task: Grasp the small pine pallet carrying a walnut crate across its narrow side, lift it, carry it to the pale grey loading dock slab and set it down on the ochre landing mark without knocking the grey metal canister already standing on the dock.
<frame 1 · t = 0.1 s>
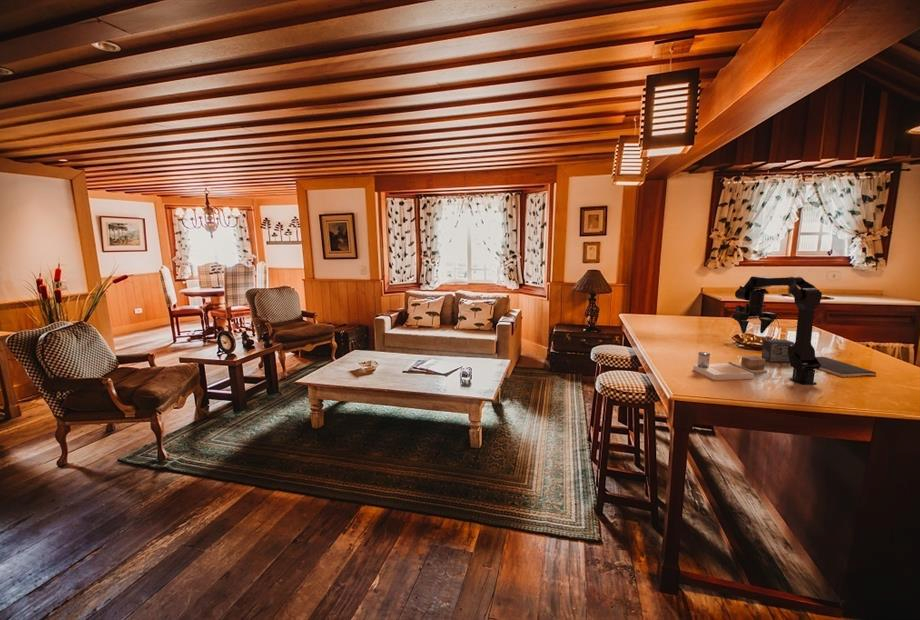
hand: (752, 333, 189), 15 cm above the table, fingers open, 9 cm apart
small box: (775, 361, 192), on the table
dock: (722, 374, 175), on the table
canister: (703, 366, 178), point 2 cm above the table, touching dock
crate: (752, 370, 179), on the table
hardcover book: (832, 369, 181), on the table
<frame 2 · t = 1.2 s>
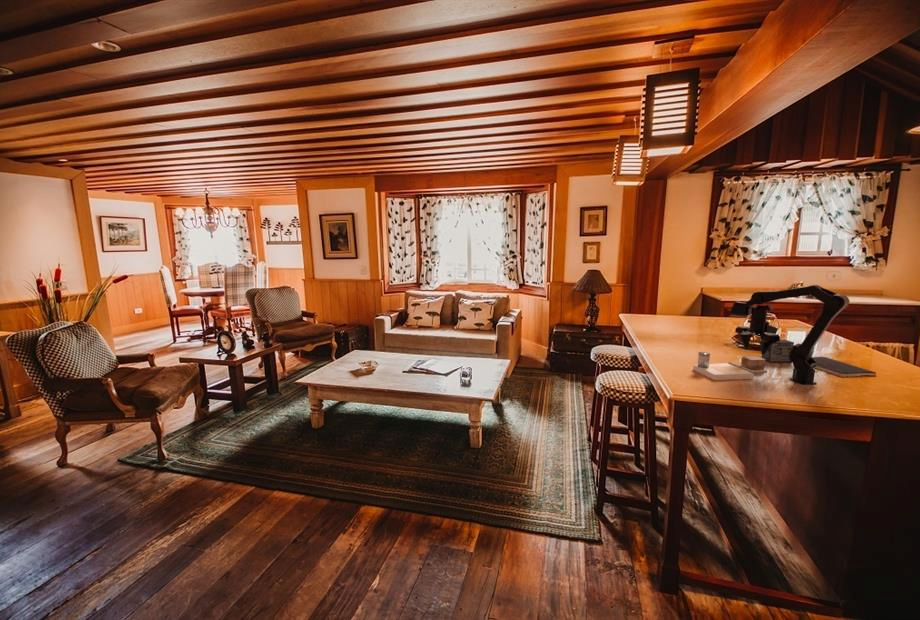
hand: (754, 351, 177), 9 cm above the table, fingers open, 9 cm apart
nothing on the table moved.
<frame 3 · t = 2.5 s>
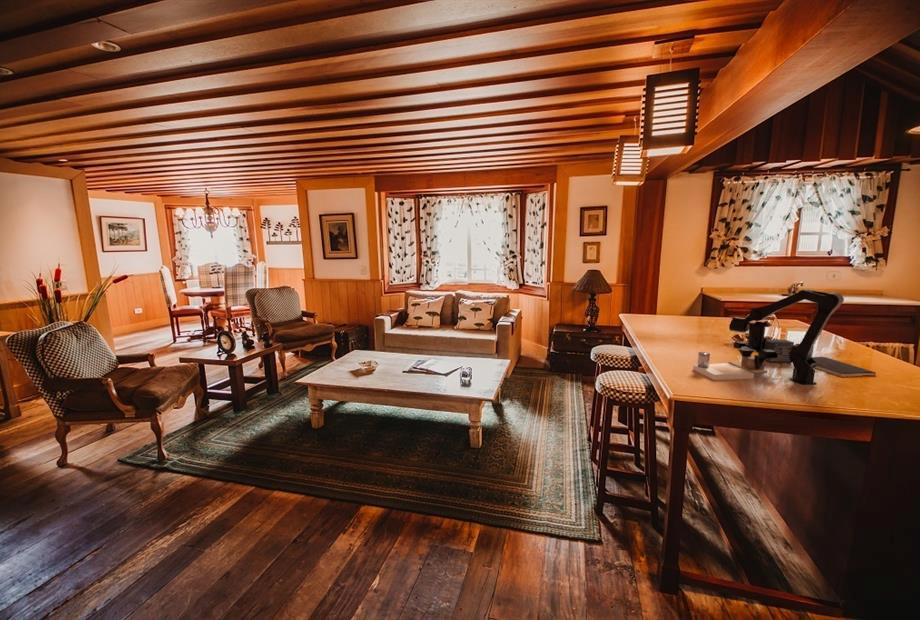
hand: (752, 367, 179), 2 cm above the table, fingers closed on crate, 5 cm apart
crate: (752, 370, 179), on the table, touching gripper
everything else where it was.
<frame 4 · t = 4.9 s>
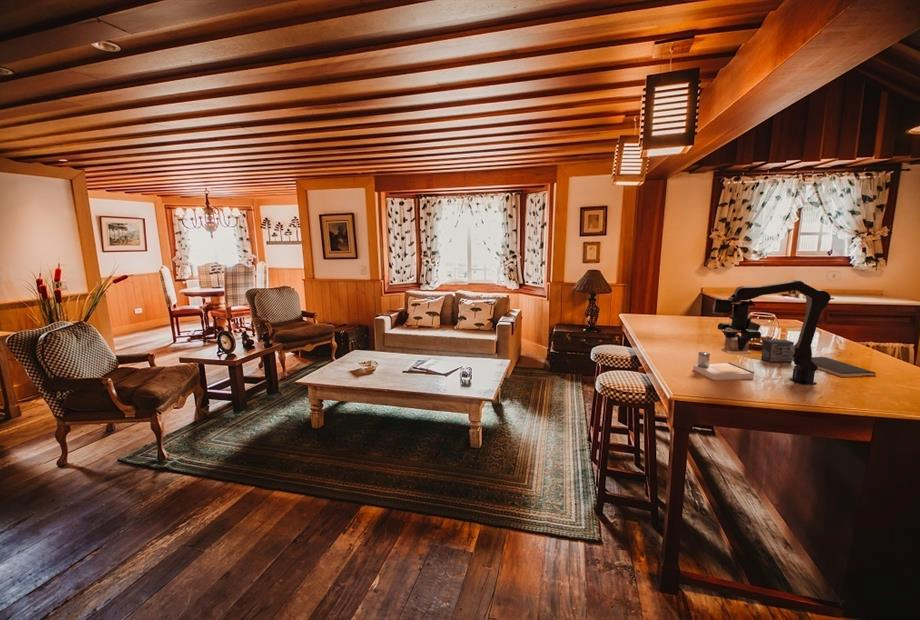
hand: (736, 348, 173), 12 cm above the table, fingers closed on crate, 5 cm apart
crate: (735, 352, 173), point 10 cm above the table, touching gripper
everything else where it was.
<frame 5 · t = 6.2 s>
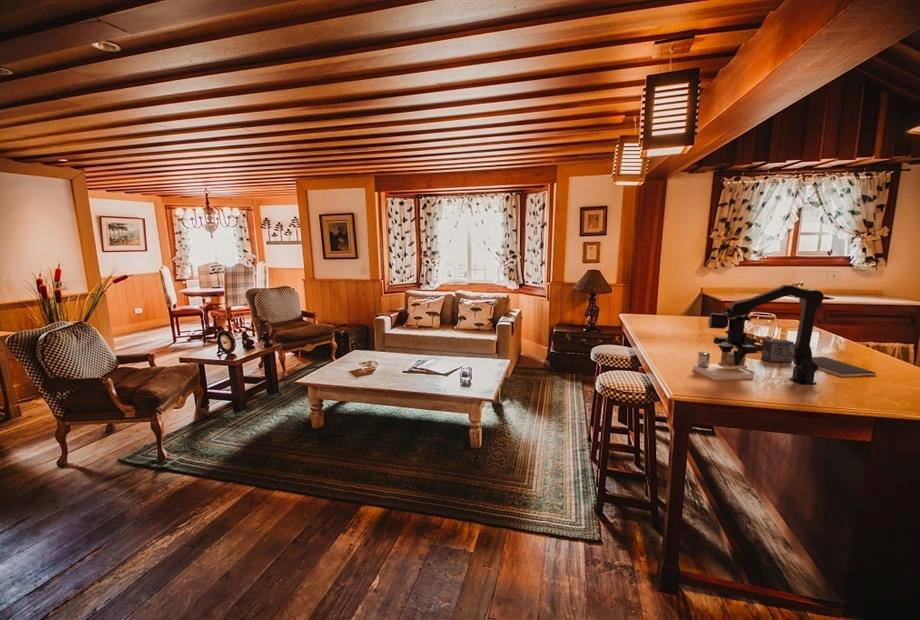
hand: (732, 363, 173), 5 cm above the table, fingers closed on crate, 5 cm apart
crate: (732, 366, 173), point 4 cm above the table, touching gripper
everything else where it was.
when the fingers open (5 cm above the table, at t = 7.1 s): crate stays where it is, resting on dock.
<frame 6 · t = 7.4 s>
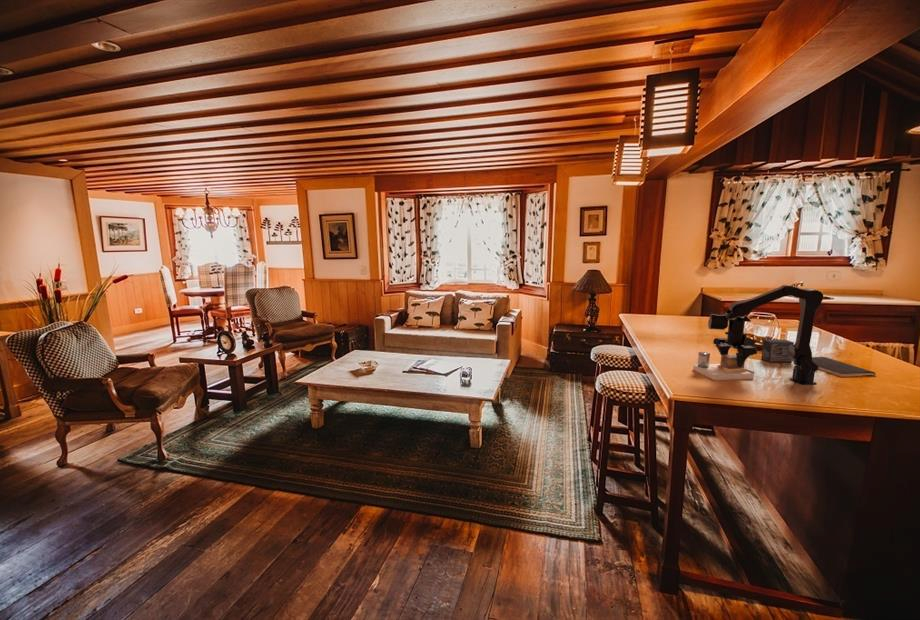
hand: (732, 364, 173), 5 cm above the table, fingers open, 8 cm apart
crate: (731, 369, 173), point 3 cm above the table, touching dock
everything else where it was.
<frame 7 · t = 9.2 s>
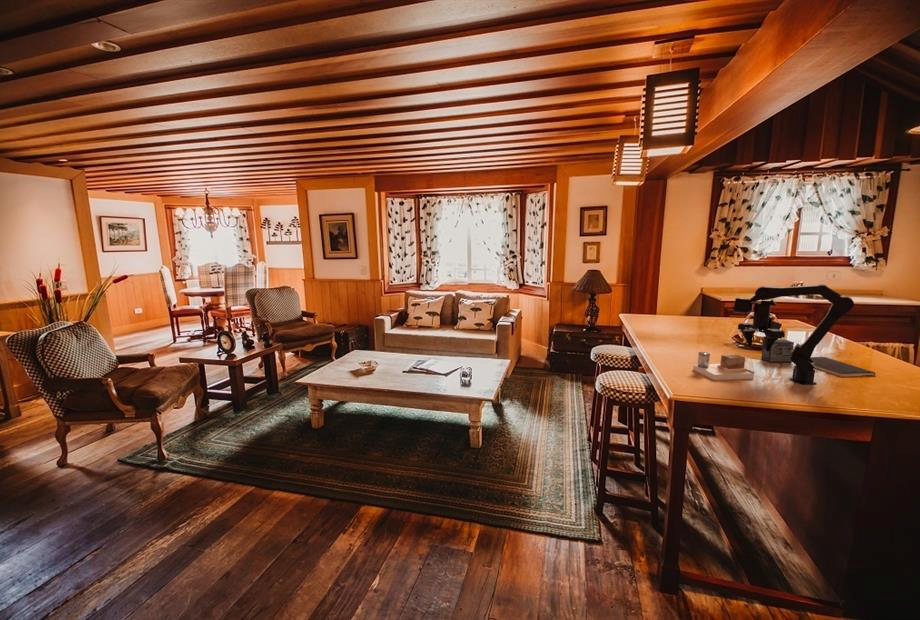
hand: (758, 348, 173), 12 cm above the table, fingers open, 9 cm apart
nothing on the table moved.
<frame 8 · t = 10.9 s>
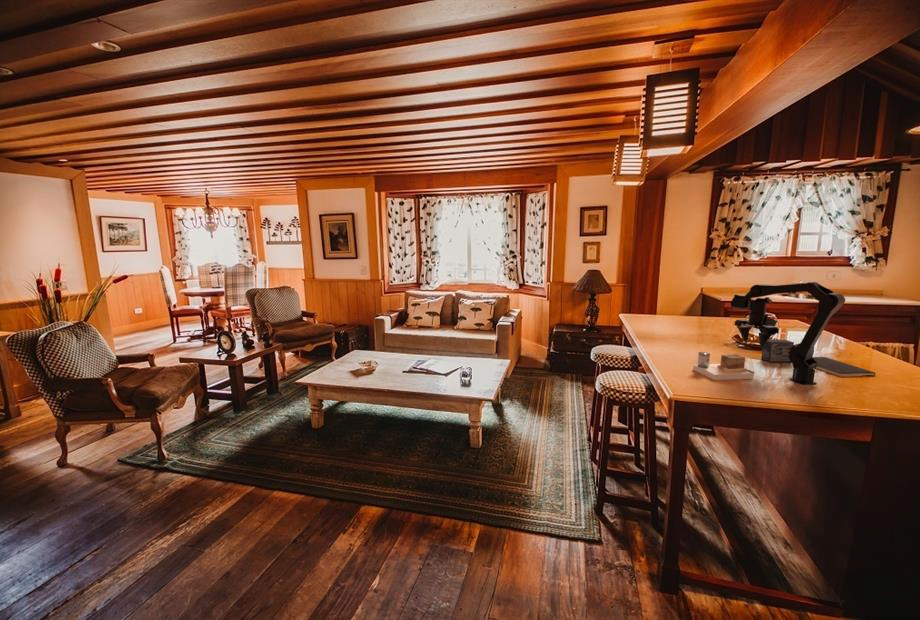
hand: (753, 344, 179), 12 cm above the table, fingers open, 9 cm apart
nothing on the table moved.
at the end: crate inside the target area on the dock (2.2 cm from its centre), point 2.6 cm above the dock's base; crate tilted 0°; canister moved 0.0 cm from its start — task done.
